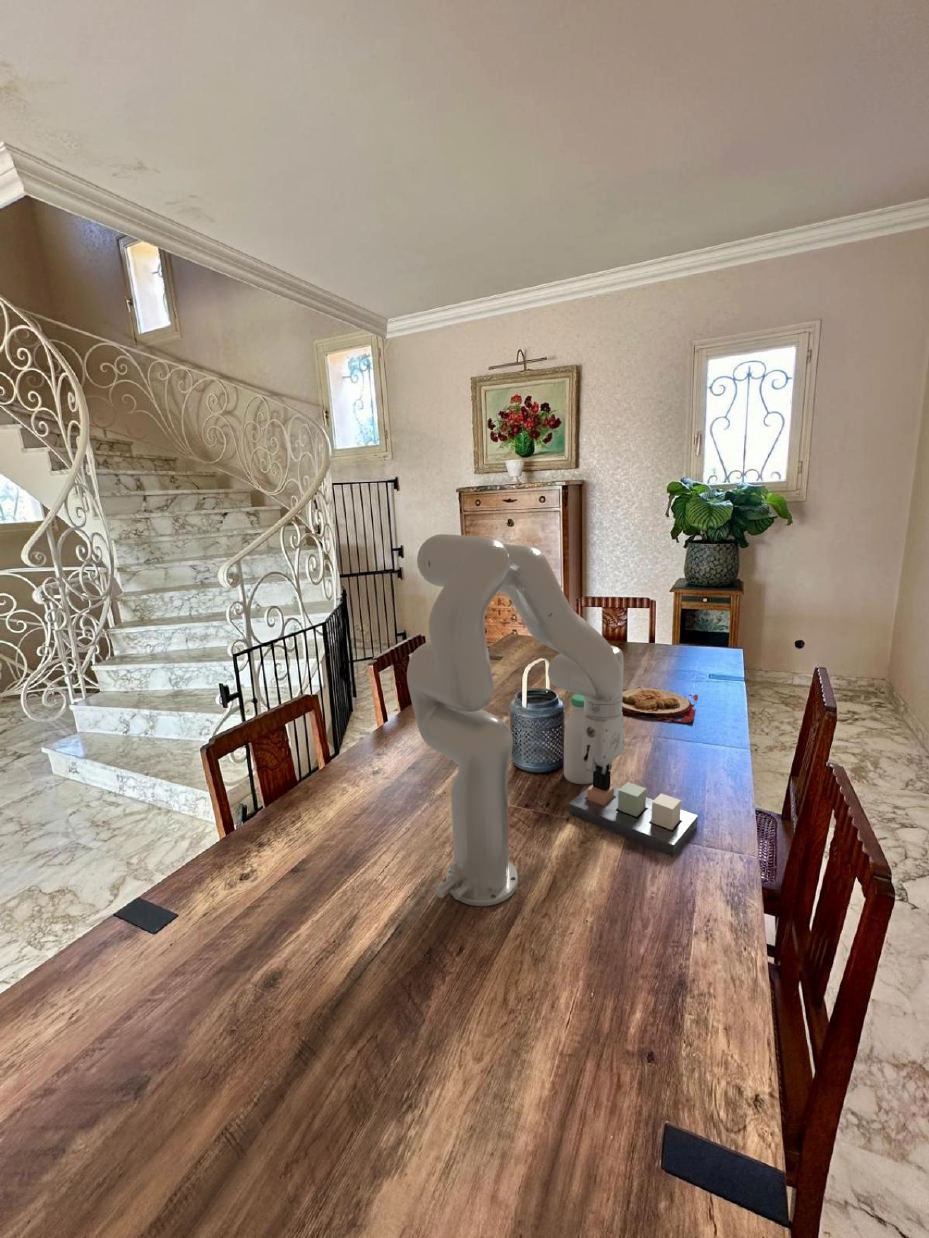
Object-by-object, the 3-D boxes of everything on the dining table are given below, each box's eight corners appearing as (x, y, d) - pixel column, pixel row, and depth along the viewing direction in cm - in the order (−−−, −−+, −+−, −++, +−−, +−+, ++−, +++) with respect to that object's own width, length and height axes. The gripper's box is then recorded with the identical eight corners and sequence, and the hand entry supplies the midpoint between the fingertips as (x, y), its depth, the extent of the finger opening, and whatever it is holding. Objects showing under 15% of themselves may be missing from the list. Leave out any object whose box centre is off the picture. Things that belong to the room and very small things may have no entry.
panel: (672, 857, 103) (673, 844, 102) (568, 814, 117) (568, 803, 116) (696, 827, 111) (697, 815, 111) (597, 790, 126) (597, 780, 125)
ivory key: (671, 829, 106) (672, 809, 105) (651, 822, 109) (652, 801, 108) (679, 820, 109) (681, 800, 108) (659, 813, 112) (660, 793, 111)
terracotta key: (604, 814, 116) (604, 795, 115) (587, 807, 118) (587, 788, 117) (613, 805, 119) (613, 787, 118) (596, 799, 121) (596, 781, 120)
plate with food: (692, 728, 157) (693, 716, 156) (600, 713, 168) (601, 702, 167) (697, 699, 178) (698, 689, 177) (616, 688, 189) (616, 678, 188)
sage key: (636, 816, 111) (637, 796, 110) (617, 809, 113) (618, 790, 112) (645, 807, 114) (646, 788, 113) (626, 801, 116) (627, 781, 115)
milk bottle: (597, 786, 127) (599, 704, 123) (563, 784, 129) (563, 702, 124) (596, 770, 135) (598, 691, 130) (564, 767, 136) (564, 690, 132)
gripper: (601, 723, 106) (600, 809, 110) (636, 698, 116) (634, 778, 121) (567, 713, 110) (567, 797, 115) (604, 691, 121) (602, 768, 126)
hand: (601, 787), depth 118 cm, fingers closed
